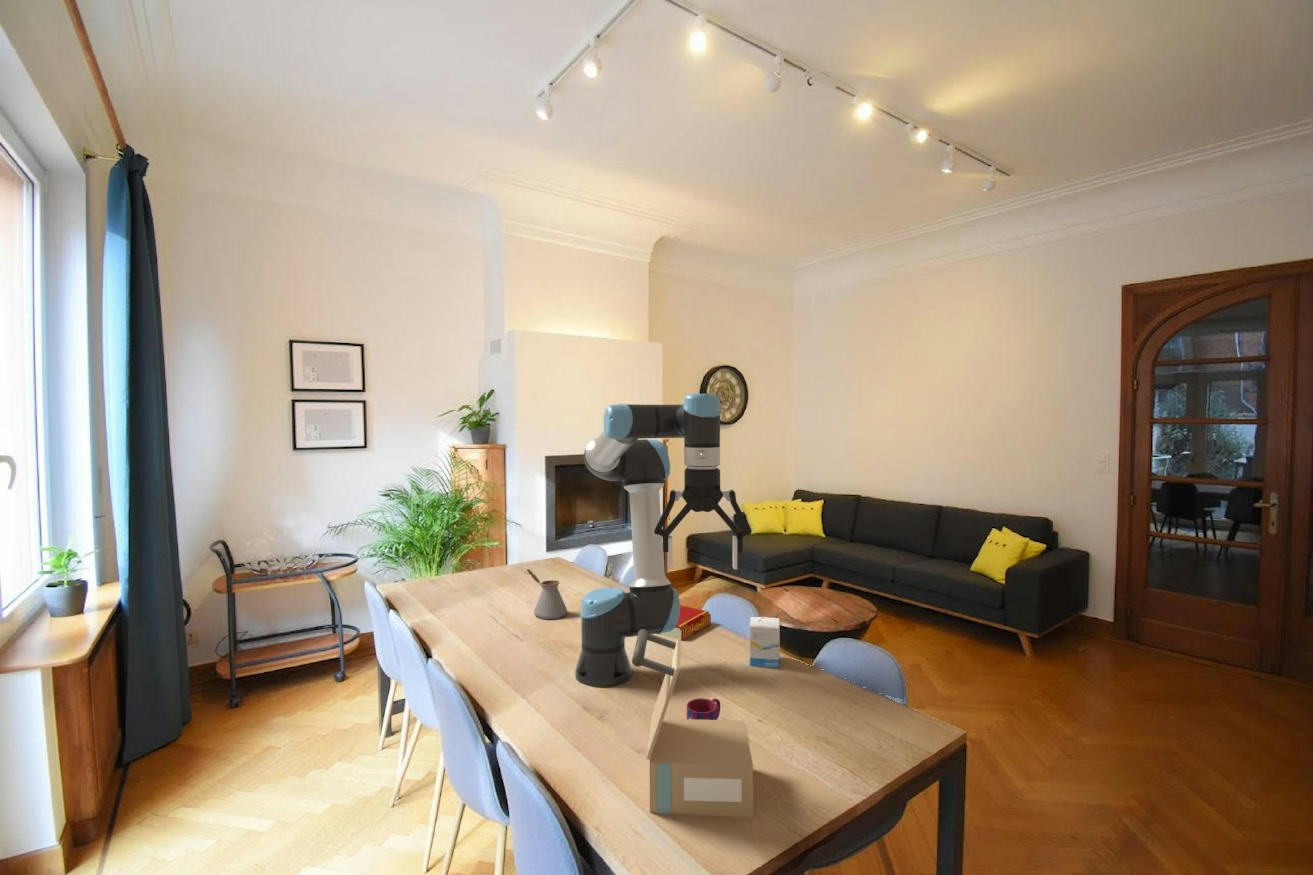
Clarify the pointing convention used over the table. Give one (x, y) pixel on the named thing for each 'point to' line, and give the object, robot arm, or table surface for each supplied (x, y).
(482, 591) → the table surface
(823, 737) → the table surface
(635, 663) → the flap
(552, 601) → the coffee pot
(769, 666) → the ink box
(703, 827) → the table surface
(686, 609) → the book
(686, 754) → the carton
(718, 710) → the mug
